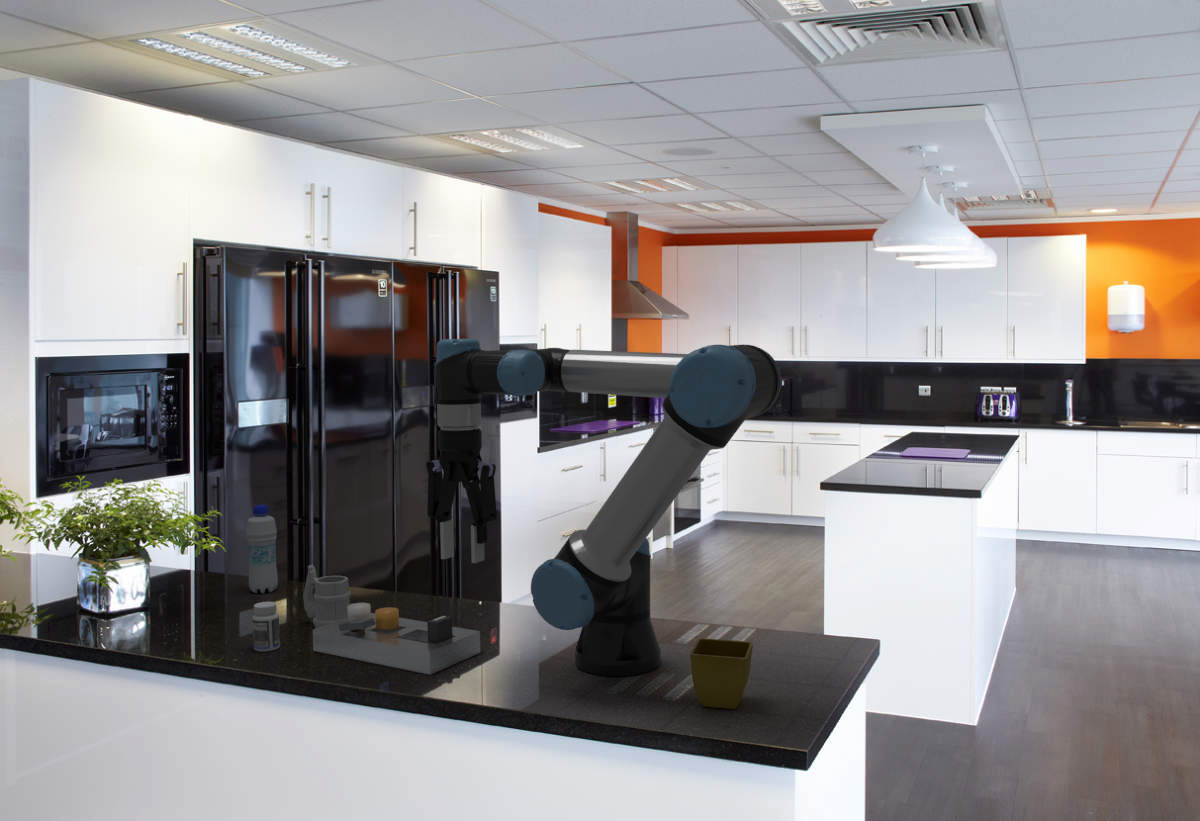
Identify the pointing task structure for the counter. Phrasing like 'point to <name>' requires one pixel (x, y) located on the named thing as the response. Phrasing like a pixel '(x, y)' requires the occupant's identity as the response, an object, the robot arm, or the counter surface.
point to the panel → (397, 645)
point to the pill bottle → (266, 627)
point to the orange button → (387, 618)
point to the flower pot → (720, 671)
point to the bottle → (262, 550)
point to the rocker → (356, 624)
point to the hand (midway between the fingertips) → (462, 559)
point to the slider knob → (439, 629)
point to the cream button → (359, 611)
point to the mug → (326, 598)
